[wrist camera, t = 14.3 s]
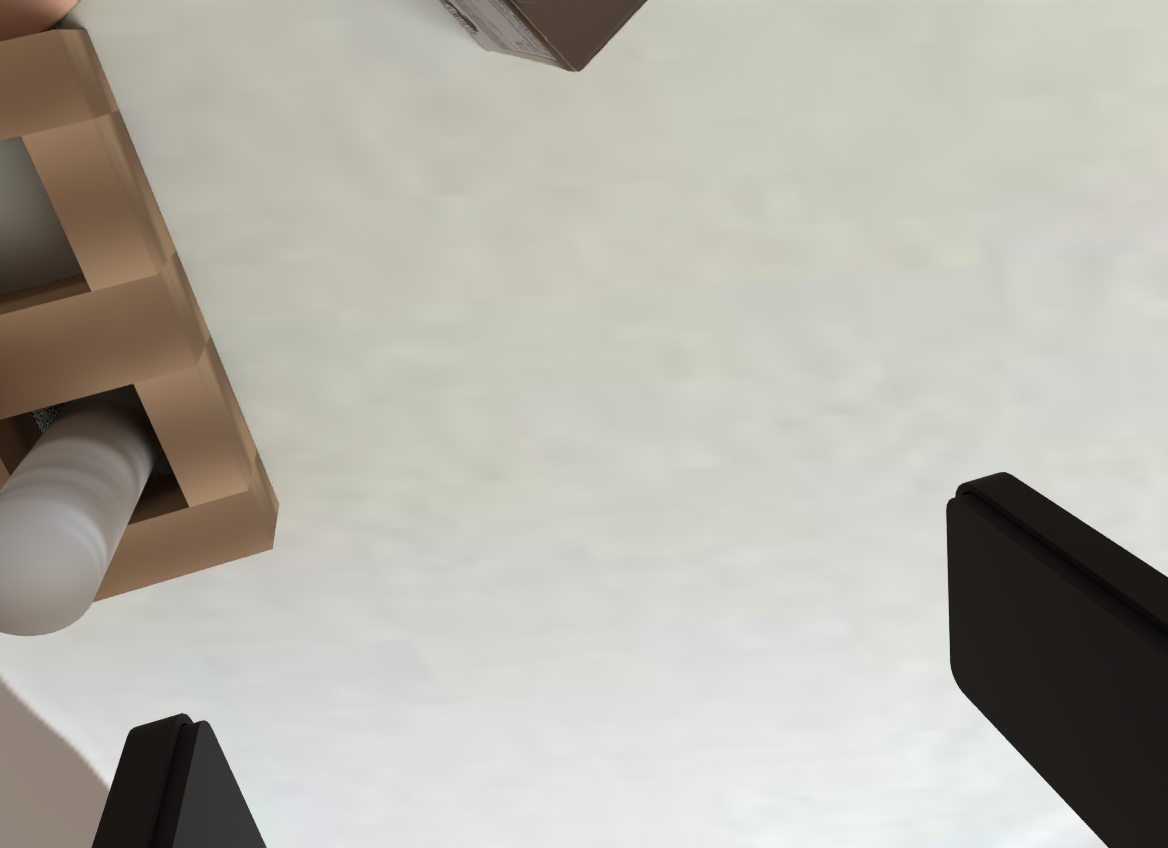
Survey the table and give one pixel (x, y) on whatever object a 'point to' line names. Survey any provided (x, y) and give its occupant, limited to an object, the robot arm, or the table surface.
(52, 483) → the holder block
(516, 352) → the table surface
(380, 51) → the table surface
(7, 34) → the disc
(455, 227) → the table surface
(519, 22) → the coffee box
